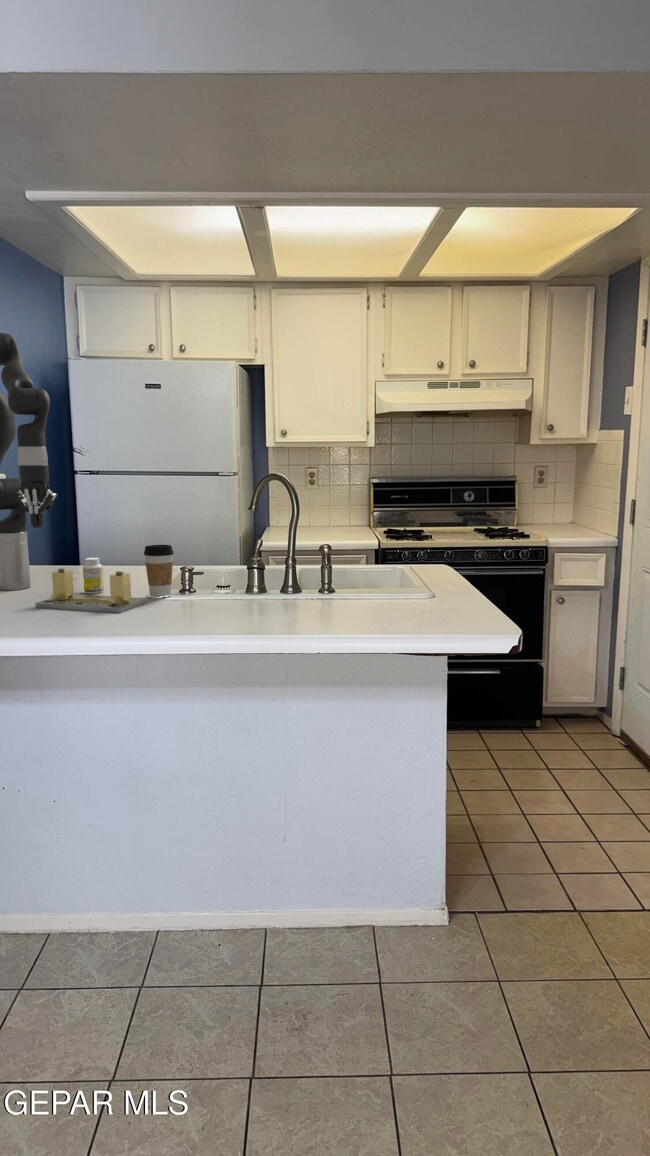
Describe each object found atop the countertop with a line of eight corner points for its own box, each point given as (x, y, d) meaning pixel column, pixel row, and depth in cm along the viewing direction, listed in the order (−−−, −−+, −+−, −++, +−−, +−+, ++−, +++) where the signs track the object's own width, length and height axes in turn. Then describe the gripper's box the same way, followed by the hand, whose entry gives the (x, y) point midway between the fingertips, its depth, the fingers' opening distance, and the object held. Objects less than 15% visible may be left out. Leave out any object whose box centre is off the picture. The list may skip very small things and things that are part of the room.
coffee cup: (140, 598, 219) (137, 546, 216) (153, 593, 227) (151, 542, 224) (167, 599, 217) (165, 547, 214) (180, 594, 225) (178, 543, 222)
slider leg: (47, 600, 209) (45, 571, 207) (61, 596, 215) (59, 567, 214) (59, 601, 208) (57, 571, 206) (74, 596, 214) (72, 568, 212)
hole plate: (35, 607, 207) (35, 602, 207) (67, 597, 221) (66, 593, 220) (120, 613, 200) (120, 608, 200) (147, 602, 213) (147, 598, 213)
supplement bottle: (92, 590, 232) (90, 556, 230) (107, 591, 230) (105, 557, 228) (80, 593, 227) (78, 559, 225) (96, 594, 225) (94, 560, 223)
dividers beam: (44, 601, 209) (42, 571, 208) (58, 597, 215) (56, 567, 214) (121, 606, 202) (120, 575, 201) (134, 601, 208) (133, 571, 207)
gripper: (3, 464, 207) (8, 528, 210) (45, 464, 203) (49, 529, 206) (21, 463, 214) (26, 525, 217) (62, 463, 210) (66, 526, 213)
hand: (37, 527), depth 211 cm, fingers closed
